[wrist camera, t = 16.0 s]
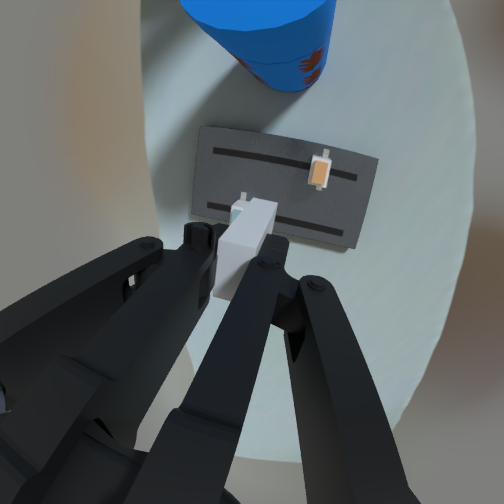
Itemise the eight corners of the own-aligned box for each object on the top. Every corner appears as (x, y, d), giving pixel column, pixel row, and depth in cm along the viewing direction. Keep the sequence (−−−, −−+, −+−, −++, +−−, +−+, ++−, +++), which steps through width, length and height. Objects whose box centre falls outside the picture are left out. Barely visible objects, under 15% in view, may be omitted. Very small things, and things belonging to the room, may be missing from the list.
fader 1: (238, 199, 40) (230, 206, 36) (254, 202, 40) (247, 210, 36) (235, 222, 42) (227, 231, 38) (250, 225, 41) (244, 235, 38)
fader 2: (312, 154, 35) (313, 156, 32) (329, 158, 35) (332, 161, 31) (307, 179, 37) (307, 184, 33) (324, 183, 37) (326, 188, 33)
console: (205, 126, 39) (200, 125, 37) (375, 158, 36) (378, 159, 34) (195, 216, 45) (190, 219, 43) (351, 250, 42) (353, 255, 40)
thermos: (288, 107, 35) (252, 65, 13) (236, 62, 34) (147, -5, 11) (340, 62, 31) (373, -24, 8) (287, 18, 29) (253, -85, 7)
